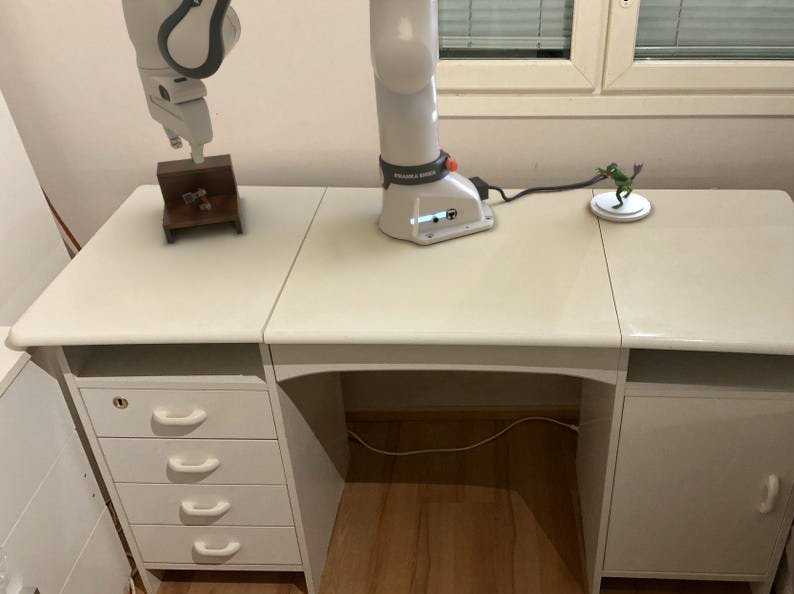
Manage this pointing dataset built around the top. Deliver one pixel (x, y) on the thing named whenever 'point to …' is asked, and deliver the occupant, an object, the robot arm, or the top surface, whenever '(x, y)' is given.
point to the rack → (189, 178)
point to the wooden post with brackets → (201, 193)
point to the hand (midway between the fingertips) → (187, 154)
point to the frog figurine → (620, 198)
